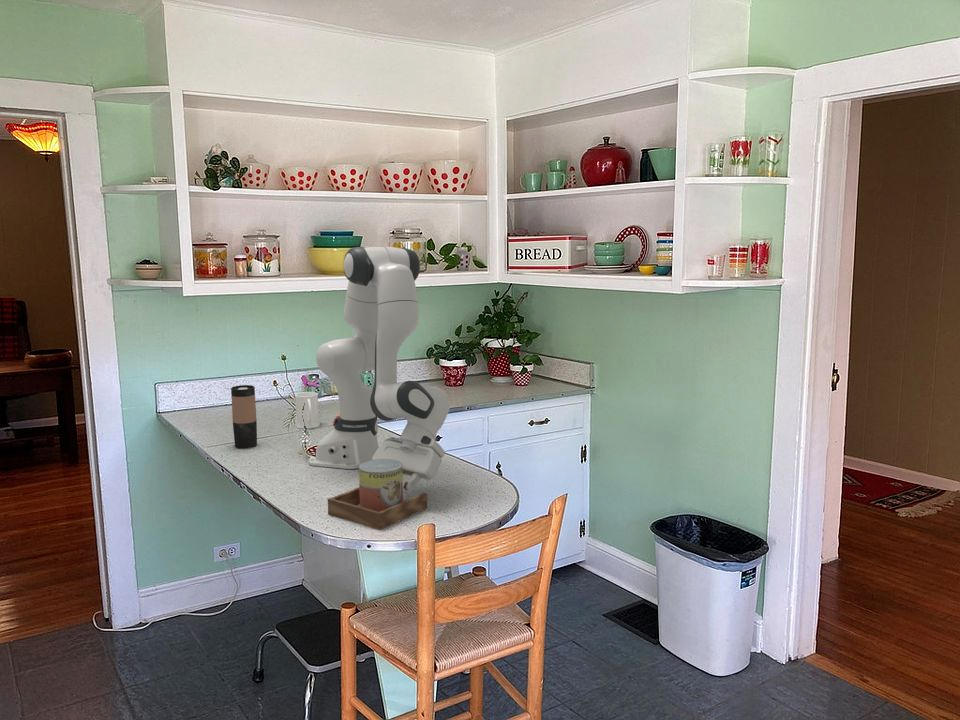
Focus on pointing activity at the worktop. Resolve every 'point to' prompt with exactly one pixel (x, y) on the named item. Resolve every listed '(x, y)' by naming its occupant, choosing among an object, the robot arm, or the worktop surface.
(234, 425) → the travel mug
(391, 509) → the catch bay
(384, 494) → the canned food
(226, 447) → the worktop surface
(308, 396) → the mug
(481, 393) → the worktop surface
